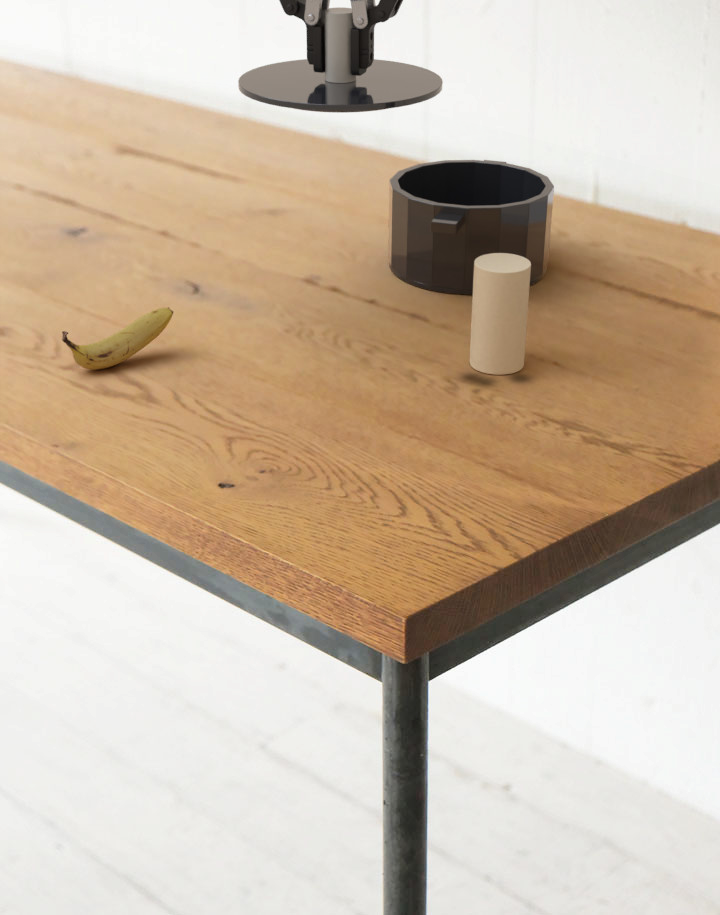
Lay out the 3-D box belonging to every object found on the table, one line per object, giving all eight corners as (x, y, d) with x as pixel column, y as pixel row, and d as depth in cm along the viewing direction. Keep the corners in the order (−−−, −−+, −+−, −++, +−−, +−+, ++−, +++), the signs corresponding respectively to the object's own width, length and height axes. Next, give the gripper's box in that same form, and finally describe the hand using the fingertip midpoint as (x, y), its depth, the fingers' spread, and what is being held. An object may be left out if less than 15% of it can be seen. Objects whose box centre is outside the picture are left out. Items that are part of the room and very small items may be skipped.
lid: (464, 79, 116) (467, -1, 113) (409, 126, 102) (411, 37, 99) (282, 64, 121) (280, -13, 118) (205, 108, 107) (201, 22, 103)
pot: (564, 240, 141) (570, 161, 137) (522, 313, 123) (528, 224, 119) (420, 225, 145) (422, 147, 141) (360, 293, 128) (361, 206, 124)
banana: (167, 344, 117) (164, 301, 115) (181, 353, 115) (178, 310, 113) (59, 372, 112) (54, 327, 110) (72, 382, 110) (67, 337, 108)
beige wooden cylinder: (529, 356, 115) (536, 256, 111) (517, 378, 111) (524, 275, 107) (476, 349, 116) (481, 250, 112) (463, 370, 112) (468, 268, 108)
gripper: (235, -159, 101) (244, 75, 109) (414, -154, 97) (409, 89, 105) (272, -165, 107) (277, 57, 116) (441, -161, 104) (435, 69, 112)
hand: (340, 71), depth 110 cm, fingers closed on lid, 2 cm apart
